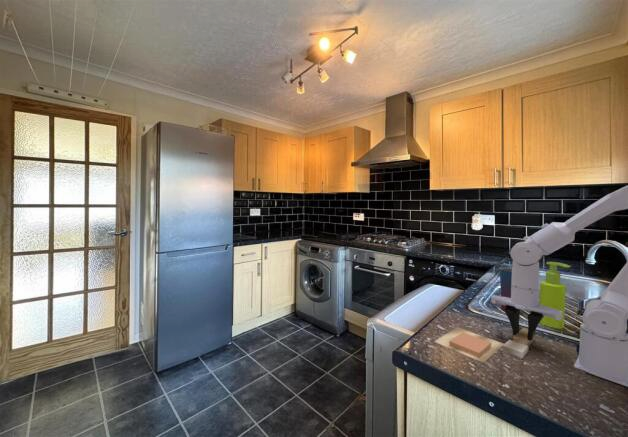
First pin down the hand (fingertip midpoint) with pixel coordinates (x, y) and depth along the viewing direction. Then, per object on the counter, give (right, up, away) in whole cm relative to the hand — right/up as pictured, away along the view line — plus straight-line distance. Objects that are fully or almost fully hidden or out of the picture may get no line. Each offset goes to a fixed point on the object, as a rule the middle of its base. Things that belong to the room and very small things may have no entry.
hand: (523, 336), depth 69 cm
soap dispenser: (+20, -2, +12) cm, 23 cm away
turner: (-1, -3, -1) cm, 3 cm away
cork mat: (-14, -2, +1) cm, 14 cm away
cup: (+15, -2, +24) cm, 28 cm away
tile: (-12, -1, +1) cm, 12 cm away
